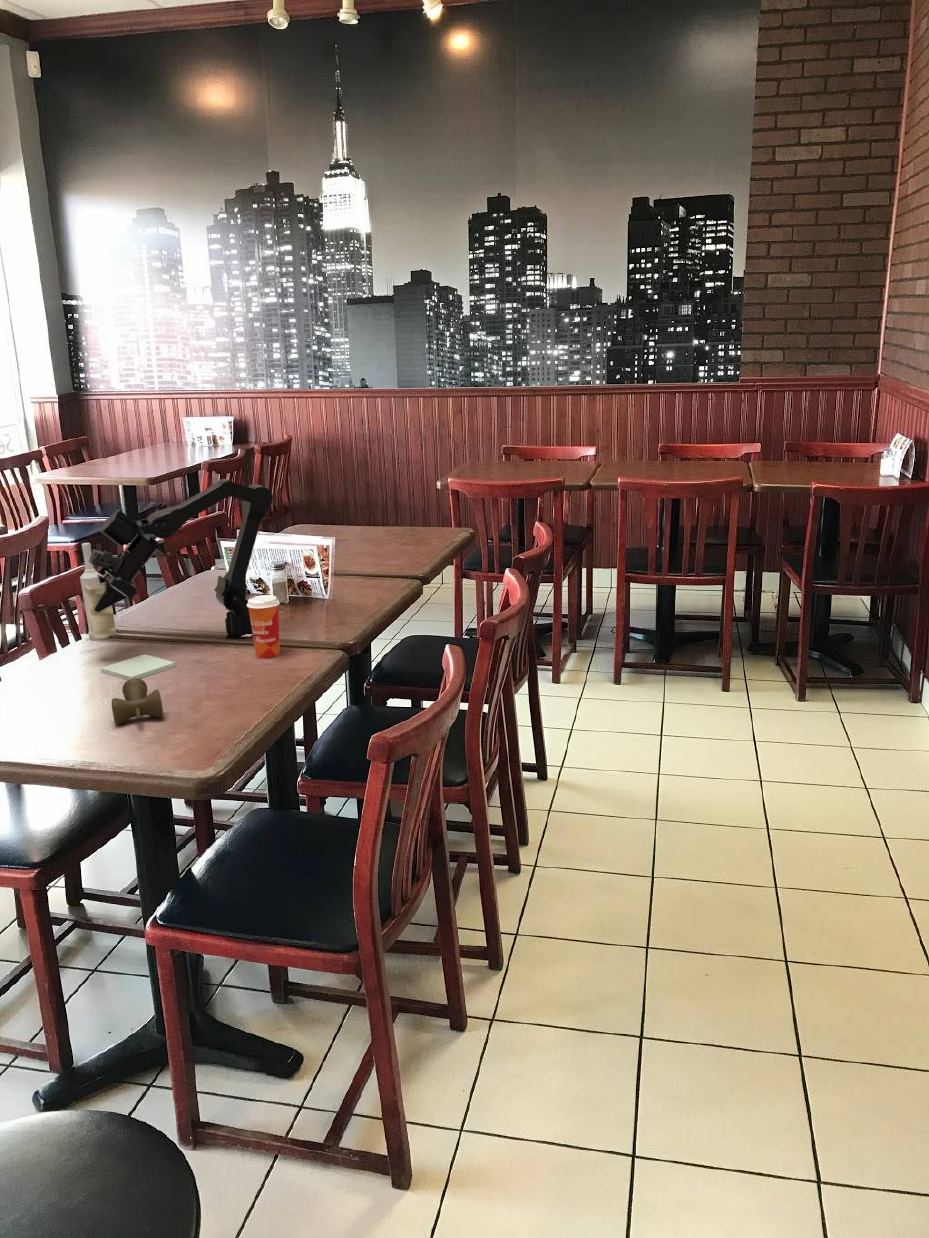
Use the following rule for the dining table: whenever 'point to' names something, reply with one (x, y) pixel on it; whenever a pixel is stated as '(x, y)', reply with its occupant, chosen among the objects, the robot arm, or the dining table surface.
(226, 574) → the robot arm
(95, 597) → the birch block
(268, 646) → the paper cup
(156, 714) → the kendama
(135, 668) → the sage pad
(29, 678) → the dining table surface
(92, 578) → the bottle
